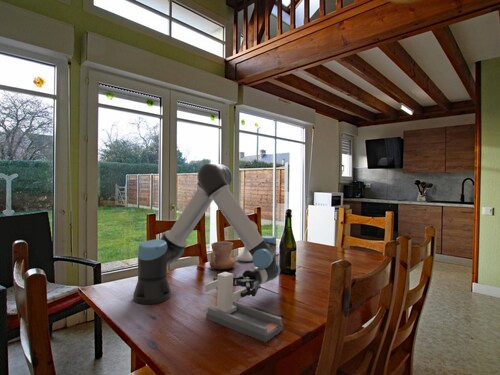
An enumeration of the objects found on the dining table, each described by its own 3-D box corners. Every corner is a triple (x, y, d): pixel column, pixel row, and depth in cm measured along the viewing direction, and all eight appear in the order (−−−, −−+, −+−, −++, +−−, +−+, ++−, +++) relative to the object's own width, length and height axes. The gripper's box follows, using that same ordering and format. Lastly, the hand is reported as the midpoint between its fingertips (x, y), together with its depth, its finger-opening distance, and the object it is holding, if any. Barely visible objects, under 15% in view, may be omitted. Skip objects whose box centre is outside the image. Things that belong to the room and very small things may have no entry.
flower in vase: (240, 263, 178) (241, 222, 177) (234, 259, 188) (234, 220, 188) (260, 261, 183) (261, 221, 182) (252, 257, 193) (253, 219, 193)
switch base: (206, 318, 106) (206, 307, 106) (224, 309, 114) (224, 298, 114) (266, 342, 91) (266, 330, 91) (282, 330, 99) (283, 318, 99)
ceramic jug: (222, 262, 180) (222, 239, 180) (241, 266, 172) (241, 242, 171) (201, 270, 166) (201, 244, 165) (220, 274, 157) (220, 248, 157)
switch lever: (213, 311, 107) (213, 274, 107) (224, 305, 112) (224, 270, 112) (225, 315, 103) (226, 277, 103) (236, 310, 108) (237, 273, 108)
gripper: (280, 293, 114) (246, 312, 98) (231, 280, 129) (194, 294, 113) (280, 274, 114) (246, 290, 97) (231, 263, 129) (194, 275, 112)
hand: (218, 292), depth 105 cm, fingers open, 13 cm apart
